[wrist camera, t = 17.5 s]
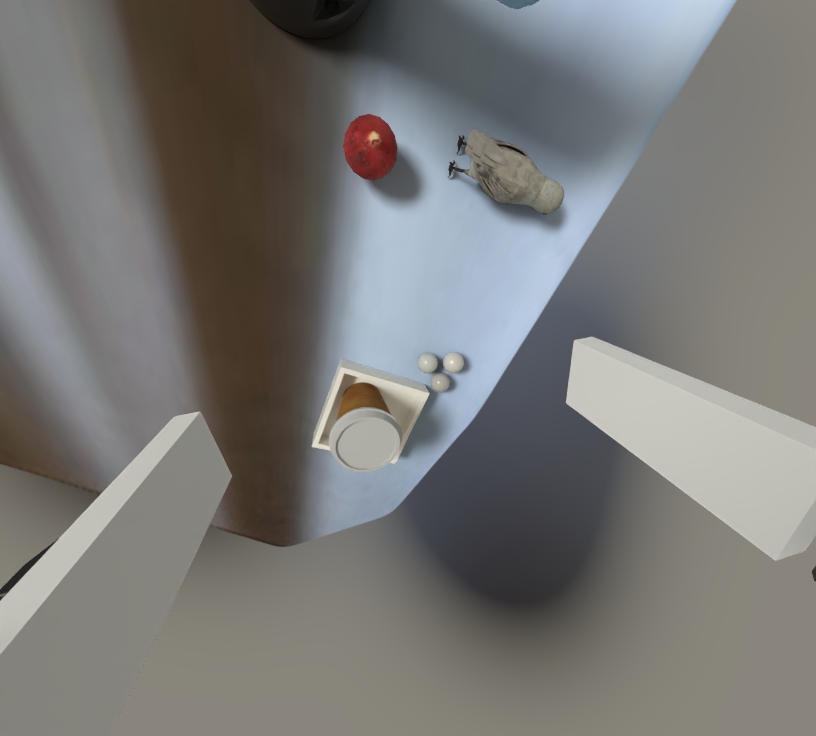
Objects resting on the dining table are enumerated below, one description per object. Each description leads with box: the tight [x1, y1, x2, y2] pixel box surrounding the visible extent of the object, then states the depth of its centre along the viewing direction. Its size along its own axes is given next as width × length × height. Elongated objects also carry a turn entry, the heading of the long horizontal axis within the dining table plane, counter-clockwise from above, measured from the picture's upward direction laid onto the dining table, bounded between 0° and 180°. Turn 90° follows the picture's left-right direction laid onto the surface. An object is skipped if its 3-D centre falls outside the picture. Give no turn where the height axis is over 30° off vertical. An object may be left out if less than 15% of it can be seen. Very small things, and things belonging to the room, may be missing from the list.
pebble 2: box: [431, 373, 450, 392], centre depth 49 cm, size 3×3×3 cm
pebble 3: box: [443, 352, 464, 373], centre depth 48 cm, size 3×3×3 cm
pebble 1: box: [418, 353, 438, 373], centre depth 47 cm, size 3×3×3 cm
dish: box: [312, 359, 430, 464], centre depth 49 cm, size 15×15×3 cm
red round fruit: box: [343, 114, 397, 180], centre depth 33 cm, size 6×6×8 cm
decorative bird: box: [449, 128, 564, 214], centre depth 37 cm, size 5×16×8 cm, turn 69°
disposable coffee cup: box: [329, 382, 402, 472], centre depth 43 cm, size 10×10×12 cm
